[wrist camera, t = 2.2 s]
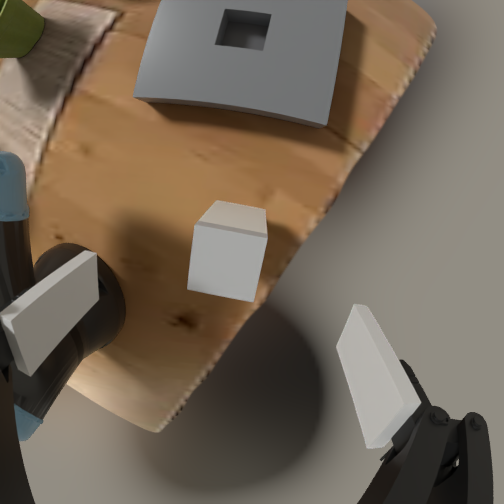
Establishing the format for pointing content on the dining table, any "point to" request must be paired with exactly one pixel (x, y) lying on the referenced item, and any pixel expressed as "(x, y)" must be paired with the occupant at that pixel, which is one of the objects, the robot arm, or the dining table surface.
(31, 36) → the plant pot
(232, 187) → the dining table surface
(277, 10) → the plate
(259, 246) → the plug
